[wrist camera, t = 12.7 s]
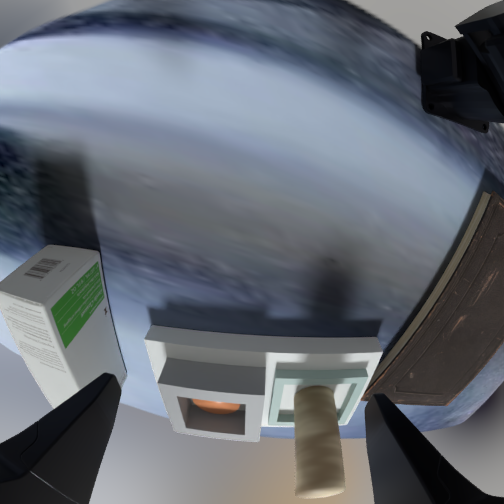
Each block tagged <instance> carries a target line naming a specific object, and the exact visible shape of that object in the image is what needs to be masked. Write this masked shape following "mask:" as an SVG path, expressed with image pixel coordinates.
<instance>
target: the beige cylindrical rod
mask: <svg viewBox="0 0 504 504" xmlns="http://www.w3.org/2000/svg"><path fill="white" fill-rule="evenodd" d="M294 426H295V496H297V497H300V498H321V497H327V496H332V495H335V494H339V493H341V492H343V491H344V490H345V489H346V486H345V476H344V467H343V458H342V449H341V442H340V433H339V426H338V419H337V412H336V405H335V399H334V393H333V391H332V390H331V389H330V388H328V387H325V386H310V387H306V388H304V389H301V390H300V391H298V392H297V393H296V394H295V396H294Z"/></svg>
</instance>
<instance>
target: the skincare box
mask: <svg viewBox="0 0 504 504" xmlns="http://www.w3.org/2000/svg"><path fill="white" fill-rule="evenodd" d="M0 309H1V312H2V314H3V317H4V319H5V322H6V324H7V326H8V328H9V331H10V333H11V335H12V337H13V339H14V341H15V343H16V346H17V348H18V350H19V352H20V354H21V355H22V357H23V359H24V361H25V363H26V365H27V366H28V368H29V370H30V372H31V374H32V375H33V377H34V379H35V380H36V382H37V384H38V386H39V387H40V389H41V390H42V392H43V393H44V395H45V396H46V398H47V400H48V401H49V403H50V404H51V406H52V407H53V409H55V408H56V407H57V406H59V405H60V404H62V403H63V402H64V401H66V400H67V399H68V398H70V397H71V396H73V395H74V394H75V393H77V392H78V391H79V390H81V389H82V388H83V387H85V386H86V385H88V384H89V383H90V382H92V381H93V380H94V379H96V378H97V377H99V376H100V375H101V374H103V373H105V372H107V373H111V374H114V375H115V376H116V378H117V380H118V382H119V384H120V387H121V389H122V386H123V384H124V382H125V380H126V378H127V373H126V370H125V367H124V364H123V360H122V357H121V353H120V350H119V346H118V343H117V339H116V335H115V331H114V327H113V323H112V318H111V314H110V309H109V305H108V300H107V295H106V289H105V284H104V278H103V273H102V267H101V260H100V253H99V252H98V251H95V250H89V249H82V248H75V247H67V246H59V245H47V246H46V247H45V248H43V249H42V250H40V251H39V252H38V253H37V254H35V255H34V256H33V257H31V258H30V259H29V260H27V261H26V262H25V263H23V264H22V265H21V266H20V267H18V268H17V269H16V270H15V271H13V272H12V273H11V274H10V275H8V276H7V277H6V278H5V279H4V280H2V281H1V282H0Z"/></svg>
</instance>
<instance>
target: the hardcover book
mask: <svg viewBox="0 0 504 504" xmlns="http://www.w3.org/2000/svg"><path fill="white" fill-rule="evenodd" d="M503 342H504V200H503V199H502V198H501V197H500V196H499V195H498V194H497V193H496V192H495V191H492V193H491V194H487V193H486V192H483V194H482V197H481V199H480V201H479V204H478V206H477V208H476V211H475V213H474V215H473V217H472V220H471V222H470V224H469V226H468V228H467V230H466V232H465V234H464V236H463V238H462V240H461V242H460V244H459V246H458V248H457V250H456V252H455V254H454V256H453V258H452V259H451V261H450V263H449V265H448V267H447V268H446V270H445V272H444V274H443V275H442V277H441V279H440V280H439V282H438V284H437V285H436V287H435V288H434V290H433V292H432V293H431V295H430V296H429V298H428V300H427V301H426V303H425V304H424V306H423V307H422V309H421V310H420V312H419V313H418V314H417V316H416V317H415V319H414V320H413V322H412V323H411V324H410V326H409V327H408V329H407V330H406V331H405V333H404V334H403V335H402V337H401V338H400V339H399V341H398V342H397V343H396V345H395V346H394V347H393V349H392V350H391V351H390V352H389V354H388V355H387V356H386V357H385V359H384V360H383V361H382V362H381V363H380V365H379V366H378V367H377V368H376V369H375V371H374V374H373V376H372V378H371V380H370V382H369V384H368V386H367V388H366V390H365V392H364V394H363V396H362V398H361V401H369V399H370V398H371V396H372V395H373V394H376V393H384V394H385V395H386V396H387V397H388V398H389V399H390V400H391V401H392V402H393V403H394V404H405V405H429V406H448V405H449V404H450V403H451V402H452V401H453V400H454V399H455V398H456V397H457V396H458V395H459V394H460V393H461V392H462V391H463V390H464V389H465V387H466V386H467V385H468V384H469V383H470V382H471V381H472V380H473V379H474V378H475V377H476V375H477V374H478V373H479V372H480V371H481V370H482V369H483V367H484V366H485V365H486V364H487V363H488V361H489V360H490V359H491V358H492V356H493V355H494V354H495V353H496V351H497V350H498V349H499V348H500V346H501V345H502V344H503Z"/></svg>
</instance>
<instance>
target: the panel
mask: <svg viewBox="0 0 504 504" xmlns="http://www.w3.org/2000/svg"><path fill="white" fill-rule="evenodd" d="M144 341H145V344H146V348H147V352H148V355H149V359H150V362H151V366H152V369H153V372H154V376H155V379H156V382H157V385H158V388H159V391H160V394H161V397H162V400H163V403H164V406H165V409H166V412H167V414H168V416H169V419H170V421H171V424H172V426H173V429H174V432H178V433H183V434H189V435H196V436H202V437H209V438H217V439H227V440H237V441H250V442H259V439H260V431H261V426H266V427H295V426H294V396H295V394H296V393H297V392H298V391H300V390H301V389H304V388H306V387H310V386H325V387H328V388H330V389H331V390H332V391H333V393H334V399H335V405H336V412H337V419H338V425H347V424H348V422H349V420H350V418H351V417H352V415H353V413H354V411H355V409H356V407H357V406H358V404H359V402H360V400H361V398H362V396H363V394H364V392H365V390H366V388H367V386H368V384H369V382H370V380H371V378H372V376H373V374H374V371H375V369H376V367H377V365H378V363H379V360H380V358H381V356H382V353H383V350H382V348H381V346H380V343H379V341H378V338H377V337H353V338H315V337H280V336H260V335H244V334H230V333H219V332H208V331H198V330H189V329H180V328H172V327H164V326H156V325H151V327H150V329H149V331H148V333H147V335H146V337H145V339H144ZM192 399H199V400H207V401H216V402H225V403H236V404H240V407H239V409H238V410H236V411H235V412H233V413H229V414H214V413H210V412H207V411H204V410H202V409H201V408H199V407H198V406H197V405H196V404H195V403H194V402H193V400H192Z"/></svg>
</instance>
